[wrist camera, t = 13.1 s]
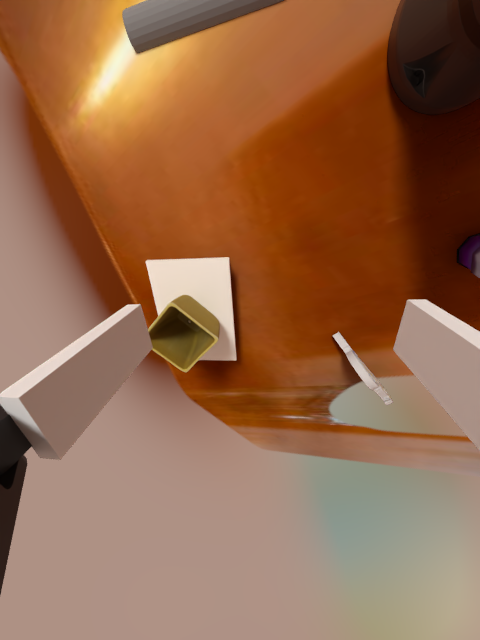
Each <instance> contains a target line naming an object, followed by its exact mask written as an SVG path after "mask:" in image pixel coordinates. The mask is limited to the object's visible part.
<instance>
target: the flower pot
mask: <svg viewBox="0 0 480 640" xmlns="http://www.w3.org/2000/svg"><path fill="white" fill-rule="evenodd" d="M189 320H190V321H191V323H189V322H188V321H189ZM148 332H149V336H150V339H151V343H152V346H153V348H152V350H153V351H155V352H156V353H157V354H159V355H160V356H162V357H163V358H165V359H166V360H167V361H169V362H170V363H171V364H173V365H174V366H176V367H177V368H178V369H180V370H181V371H183V372H188V371H189V370H190V369H191V368H192V366H193V365H194V364H195V363H196V362H197V361H198V360H199V359H200V358H201V357H202V356H203V355H204V354H205V353H206V352H207V351H209V350H210V349H211V348H212V347H213V346H214V345H215V344H216V343H217V342H218V340H219V332H220V323H219V321H218V319H217V318H216V317H215V316H214V315H213V314H212V313H211V312H210V311H208V310H207V309H206V308H205V307H203V306H202V305H201V304H200V303H199V302H197V301H196V300H195V299H194V298H192V297H191V296H189V295H182V296H179V297H178V298H176V299H174V300H173V301H171V302H170V303H168V304H167V306H166V307H165V308H164V310H163V311H162V312H161V314H160V315H159V316H158V317H157V319H156V320H155V321H154V322H153V324H152V325H151V326H150V327H149V329H148Z"/></svg>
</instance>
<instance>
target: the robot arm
mask: <svg viewBox="0 0 480 640" xmlns="http://www.w3.org/2000/svg"><path fill="white" fill-rule="evenodd" d="M388 69H389V75H390V79H391V83H392V86H393V88H394V90H395V92H396V94H397V95H398V97H399V98H400V100H401V101H402V102H403V103H404V104H405V105H406V106H408V107H409V108H410V109H412V110H414V111H416V112H419V113H423V114H429V115H437V114H444V113H448V112H452V111H454V110H457V109H459V108H462V107H464V106H466V105H468V104H470V103H471V102H473V101H475V100H477V99H479V98H480V0H401V1H400V4H399V6H398V9H397V11H396V14H395V17H394V21H393V24H392V28H391V32H390V38H389V45H388ZM152 348H153V346H152V343H151V339H150V336H149V332H148V329H147V325H146V321H145V318H144V314H143V311H142V307H141V304H138V305H126V306H125V307H123V308H122V309H121V310H119V311H118V312H116V313H115V314H113V315H112V316H111V317H109V318H108V319H106V320H105V321H103V322H102V323H100V324H99V325H98V326H96V327H95V328H93V329H92V330H90V331H89V332H87V333H86V334H85V335H83V336H82V337H80V338H79V339H78V340H76V341H75V342H73V343H72V344H70V345H69V346H68V347H66V348H65V349H63V350H62V351H60V352H59V353H57V354H56V355H54V356H53V357H52V358H50V359H49V360H47V361H46V362H44V363H43V364H42V365H40V366H39V367H37V368H36V369H34V370H33V371H31V372H30V373H29V374H27V375H26V376H24V377H23V378H21V379H20V380H18V381H17V382H16V383H14V384H13V385H11V386H10V387H9V388H7V389H6V390H4V391H3V392H1V393H0V594H1V589H2V584H3V579H4V574H5V570H6V565H7V560H8V555H9V550H10V545H11V540H12V535H13V530H14V526H15V520H16V516H17V511H18V506H19V501H20V496H21V491H22V487H23V482H24V477H25V472H26V467H27V459H26V457H25V456H24V453H25V452H26V451H27V450H28V449H29V448H30V447H31V446H32V447H33V449H34V450H35V451H36V453H37V454H38V456H39V457H40V458H46V459H59V460H61V459H62V457H63V456H64V455H65V454H66V452H67V451H68V450H69V449H70V448H71V446H72V445H73V444H74V443H75V442H76V440H77V439H78V438H79V437H80V435H81V434H82V433H83V432H84V431H85V429H86V428H87V427H88V426H89V425H90V423H91V422H92V421H93V420H94V418H95V417H96V416H97V415H98V414H99V412H100V411H101V410H102V409H103V408H104V406H105V405H106V404H107V403H108V401H109V400H110V399H111V398H112V397H113V395H114V394H115V393H116V392H117V391H118V389H119V388H120V387H121V386H122V384H123V383H124V382H125V381H126V380H127V378H128V377H129V376H130V375H131V373H132V372H133V371H134V370H135V369H136V367H137V366H138V365H139V364H140V363H141V361H142V360H143V359H144V358H145V357H146V355H147V354H148V353H149V352H150V350H151V349H152ZM393 350H394V351H395V353H396V354H397V355H398V356H399V357H400V358H401V360H402V361H403V362H404V363H405V364H406V365H407V367H408V368H409V369H410V370H411V371H412V372H413V374H414V375H415V376H416V377H417V378H418V379H419V381H420V382H421V383H422V384H423V385H424V386H425V388H426V389H427V390H428V391H429V392H430V393H431V395H432V396H433V397H434V398H435V399H436V400H437V402H438V403H439V404H440V405H441V406H442V407H443V408H444V410H445V411H446V412H447V413H448V414H449V416H450V417H451V418H452V419H453V420H454V421H455V423H456V424H457V425H458V426H459V427H460V428H461V430H462V431H463V432H464V433H465V434H466V435H467V437H468V438H469V439H470V440H471V441H472V442H473V444H474V445H475V446H476V447H477V448H478V449H479V451H480V332H479V331H478V330H476V329H474V328H473V327H471V326H469V325H468V324H466V323H464V322H463V321H461V320H459V319H458V318H456V317H454V316H453V315H451V314H449V313H448V312H446V311H444V310H443V309H441V308H439V307H438V306H436V305H434V304H433V303H431V302H429V301H428V300H426V299H421V300H407V303H406V306H405V310H404V313H403V317H402V320H401V324H400V328H399V331H398V335H397V338H396V342H395V345H394V349H393Z"/></svg>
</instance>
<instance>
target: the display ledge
mask: <svg viewBox="0 0 480 640" xmlns="http://www.w3.org/2000/svg"><path fill="white" fill-rule="evenodd" d="M146 265H147V269H148V274H149V278H150V282H151V286H152V291H153V295H154V299H155V304H156V308H157V312H158V316H159V315H160V314H161V312H162V311H163V310H164V308H165V307H166V306H167V304H168V303H170V302H171V301H173V300H174V299H176V298H178V297H179V296H182V295H189V296H191V297H192V298H194V299H195V300H196V301H197V302H199V303H200V304H201V305H202V306H203V307H205V308H206V309H207V310H208V311H210V312H211V313H212V314H213V315H214V316H215V317H216V318H217V319H218V321H219V323H220V332H219V340H218V342H217V343H216V344H215V345H214V346H213V347H212V348H211V349H210V350H209V351H207V352H206V353H205V354H204V355H203V356H202V357H201V358H200V359H199V360H234V361H236V359H237V357H236V343H235V330H234V316H233V302H232V289H231V275H230V261H229V257H219V258H191V259H164V260H147V261H146ZM188 322H189V323H191V321H190V320H189V321H188Z"/></svg>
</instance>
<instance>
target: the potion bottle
mask: <svg viewBox="0 0 480 640" xmlns="http://www.w3.org/2000/svg"><path fill="white" fill-rule="evenodd" d="M457 263H459V264H460V265H462V266H464V267H466V268H469V269H470V270H471V273H473V274H474V275H476V276H477V277H479V278H480V233H479V234H476V235H473V236H469V237H468V238H467V239H466V240H465V242H464V243H463V244H462V245H461V246H460V247H459V248H458V249H457Z"/></svg>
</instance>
